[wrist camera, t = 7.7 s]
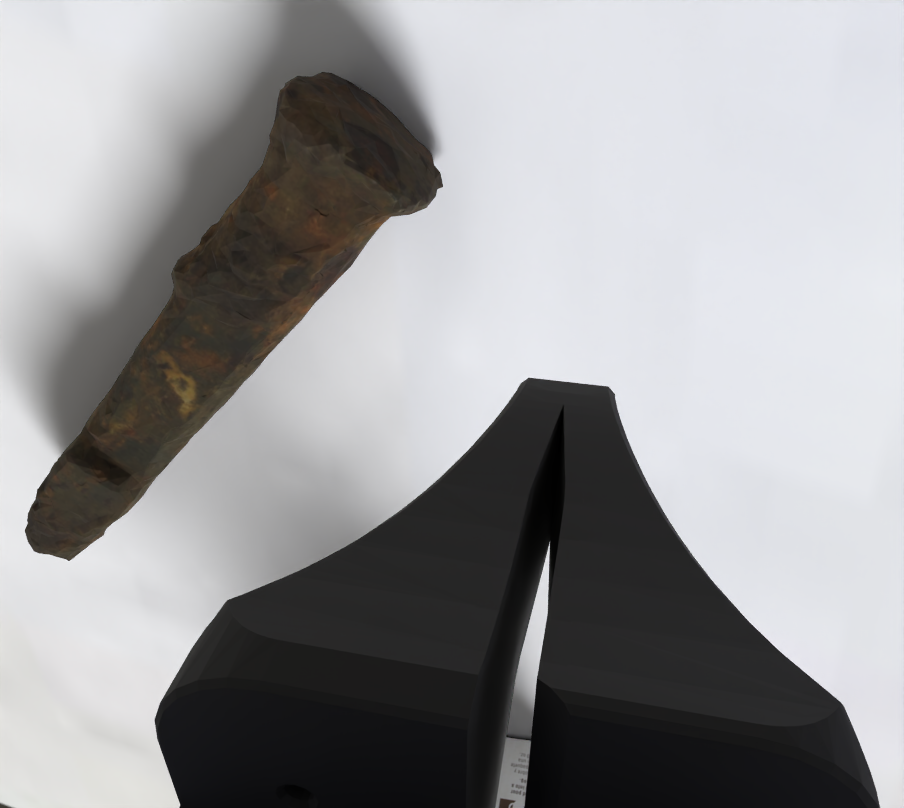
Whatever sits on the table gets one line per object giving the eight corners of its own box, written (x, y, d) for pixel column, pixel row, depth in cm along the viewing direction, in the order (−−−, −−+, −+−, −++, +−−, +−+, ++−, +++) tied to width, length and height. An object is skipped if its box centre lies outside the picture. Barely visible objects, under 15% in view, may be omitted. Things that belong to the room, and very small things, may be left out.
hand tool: (341, 41, 19) (265, 86, 16) (460, 161, 20) (415, 230, 17) (36, 438, 29) (-55, 523, 26) (126, 505, 30) (51, 596, 27)
